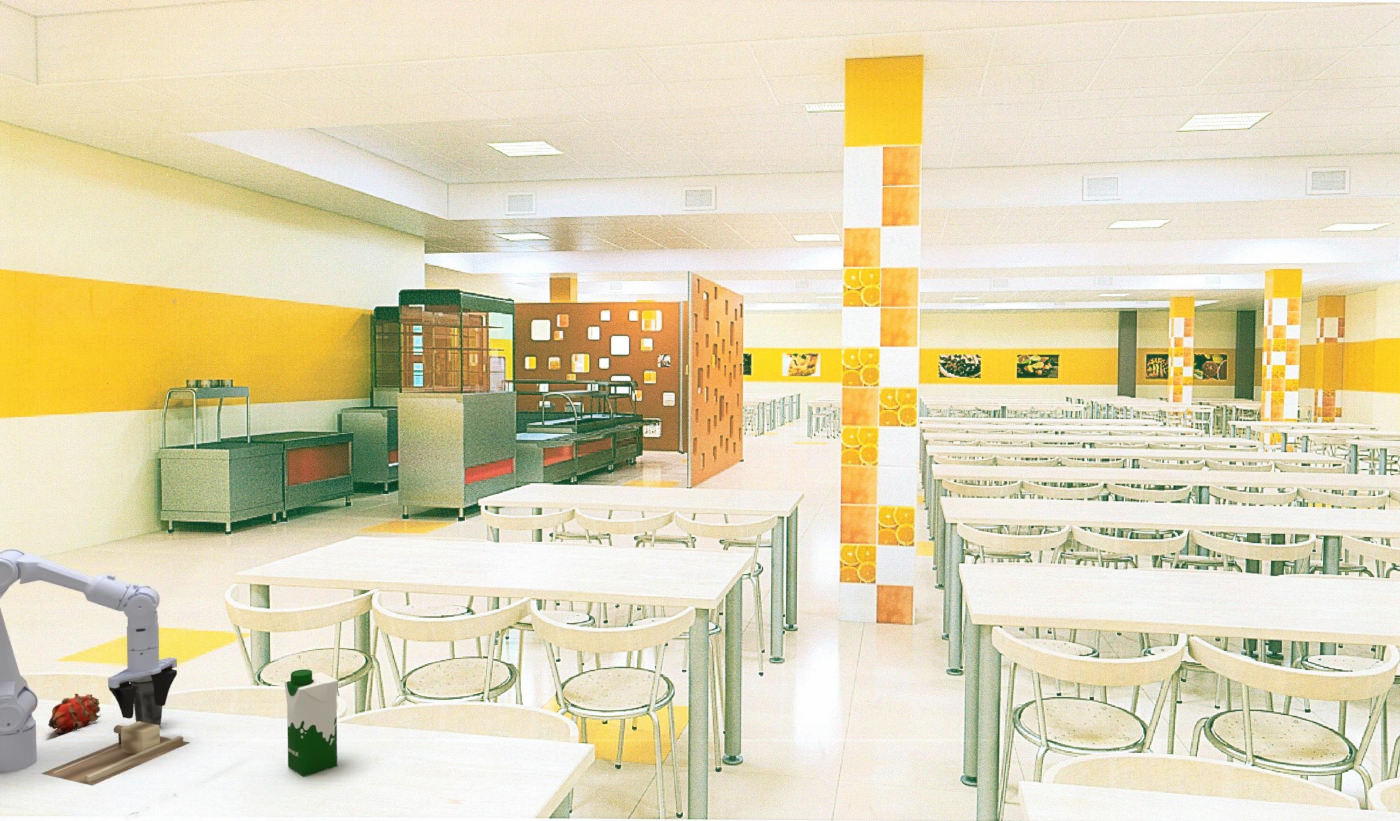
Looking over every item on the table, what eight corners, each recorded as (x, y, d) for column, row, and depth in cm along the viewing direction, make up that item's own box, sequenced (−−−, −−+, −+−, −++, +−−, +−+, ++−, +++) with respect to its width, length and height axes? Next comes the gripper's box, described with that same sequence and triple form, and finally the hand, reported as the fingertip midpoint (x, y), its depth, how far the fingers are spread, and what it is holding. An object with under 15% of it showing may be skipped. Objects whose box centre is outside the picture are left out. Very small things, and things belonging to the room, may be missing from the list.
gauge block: (108, 748, 200) (108, 725, 200) (126, 741, 204) (125, 718, 204) (142, 755, 197) (142, 731, 197) (160, 748, 201) (159, 725, 200)
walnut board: (41, 780, 188) (41, 767, 188) (142, 739, 209) (141, 727, 209) (92, 792, 184) (92, 778, 183) (190, 749, 204) (190, 736, 204)
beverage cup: (174, 726, 216) (172, 639, 215) (140, 737, 210) (138, 647, 209) (156, 719, 220) (154, 633, 219) (123, 730, 214) (121, 641, 213)
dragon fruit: (104, 726, 220) (56, 754, 209) (78, 702, 221) (28, 729, 210) (117, 701, 217) (68, 728, 206) (90, 677, 218) (40, 703, 207)
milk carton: (281, 766, 196) (280, 670, 195) (324, 753, 203) (323, 660, 202) (300, 779, 190) (299, 680, 189) (344, 765, 197) (343, 669, 196)
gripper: (125, 659, 192) (126, 725, 192) (187, 639, 205) (188, 702, 206) (99, 654, 194) (101, 720, 195) (162, 635, 208) (163, 697, 208)
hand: (144, 710), depth 201 cm, fingers open, 7 cm apart
